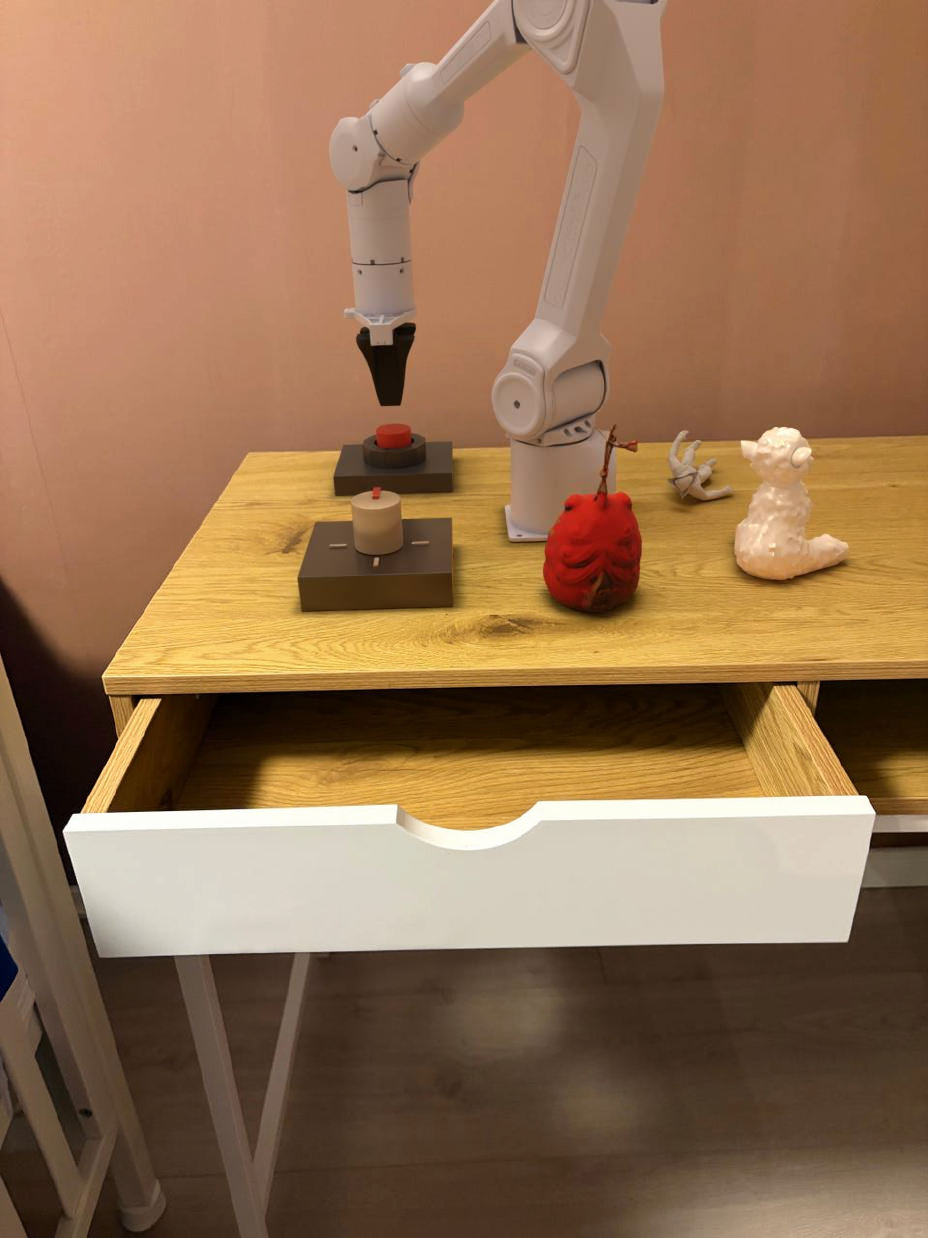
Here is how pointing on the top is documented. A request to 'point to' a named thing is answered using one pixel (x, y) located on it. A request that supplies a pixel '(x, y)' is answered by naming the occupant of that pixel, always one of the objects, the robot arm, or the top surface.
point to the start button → (393, 436)
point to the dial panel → (378, 569)
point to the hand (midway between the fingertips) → (391, 401)
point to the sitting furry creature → (782, 512)
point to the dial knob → (377, 522)
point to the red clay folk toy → (595, 546)
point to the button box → (395, 468)
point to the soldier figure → (691, 472)
